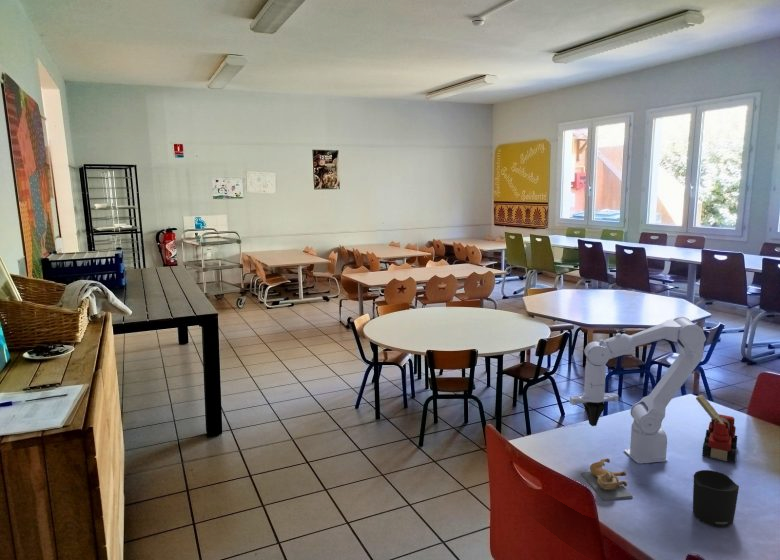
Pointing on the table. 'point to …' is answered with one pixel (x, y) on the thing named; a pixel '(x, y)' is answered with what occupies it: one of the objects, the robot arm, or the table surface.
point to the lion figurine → (606, 475)
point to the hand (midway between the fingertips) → (592, 424)
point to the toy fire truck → (719, 434)
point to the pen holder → (714, 498)
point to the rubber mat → (606, 494)
